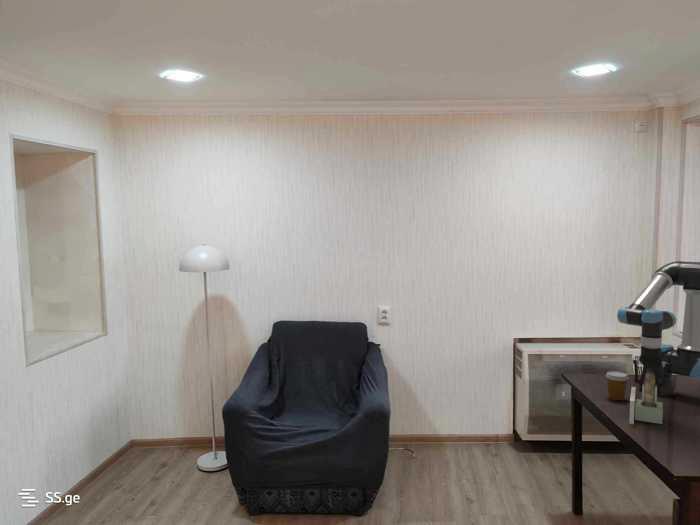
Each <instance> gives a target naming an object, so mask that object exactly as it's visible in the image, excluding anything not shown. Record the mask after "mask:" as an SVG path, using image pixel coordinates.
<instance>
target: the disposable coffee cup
mask: <svg viewBox="0 0 700 525" xmlns="http://www.w3.org/2000/svg"><path fill="white" fill-rule="evenodd" d="M605 377H606V382H607V390H608V391H607V392H608V398H609V399H610V400H612V401H616V400H622V401H624V400H625V395H626V389H627V383H628V379H629V377H628V374H627V373H625V372H623V371H616V370H615V371H614V370H612V371H611V370H610V371H607V373H606V374H605Z"/></svg>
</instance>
